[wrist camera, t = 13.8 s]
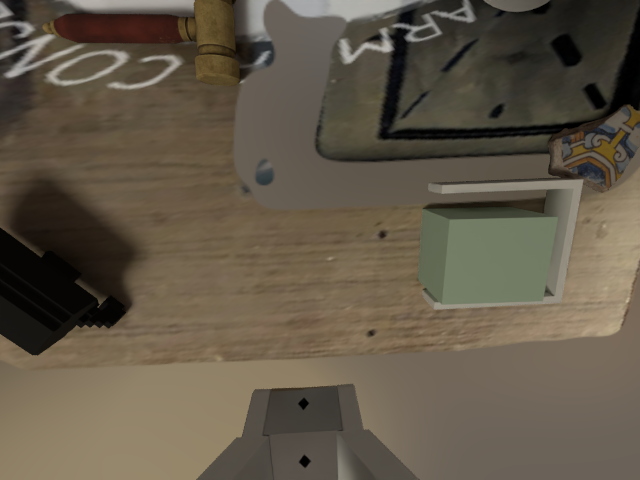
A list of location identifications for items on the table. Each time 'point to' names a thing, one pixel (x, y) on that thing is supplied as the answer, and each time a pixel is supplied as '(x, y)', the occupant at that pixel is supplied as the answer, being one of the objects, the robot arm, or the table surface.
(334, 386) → the robot arm
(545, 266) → the block
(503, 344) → the table surface
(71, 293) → the security camera
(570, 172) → the ceramic tile fragment
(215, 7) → the gavel
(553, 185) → the box
